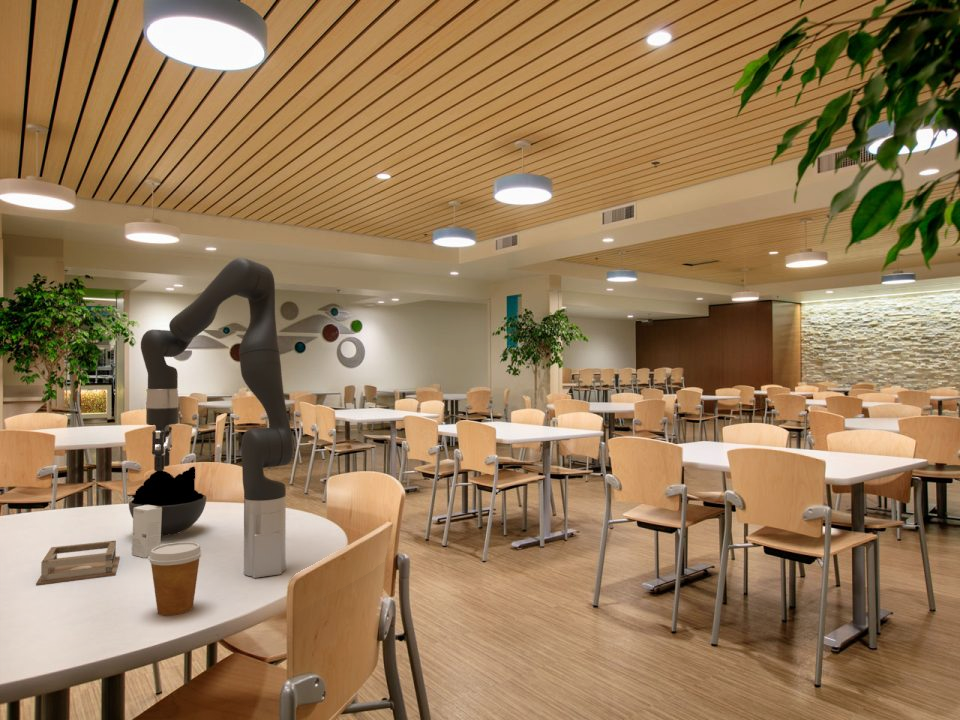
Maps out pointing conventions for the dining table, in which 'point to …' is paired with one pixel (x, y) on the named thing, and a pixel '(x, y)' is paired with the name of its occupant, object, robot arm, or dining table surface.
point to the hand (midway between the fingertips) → (162, 468)
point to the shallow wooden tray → (78, 560)
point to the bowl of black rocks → (171, 499)
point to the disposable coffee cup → (175, 576)
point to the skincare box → (146, 529)
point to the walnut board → (81, 566)
